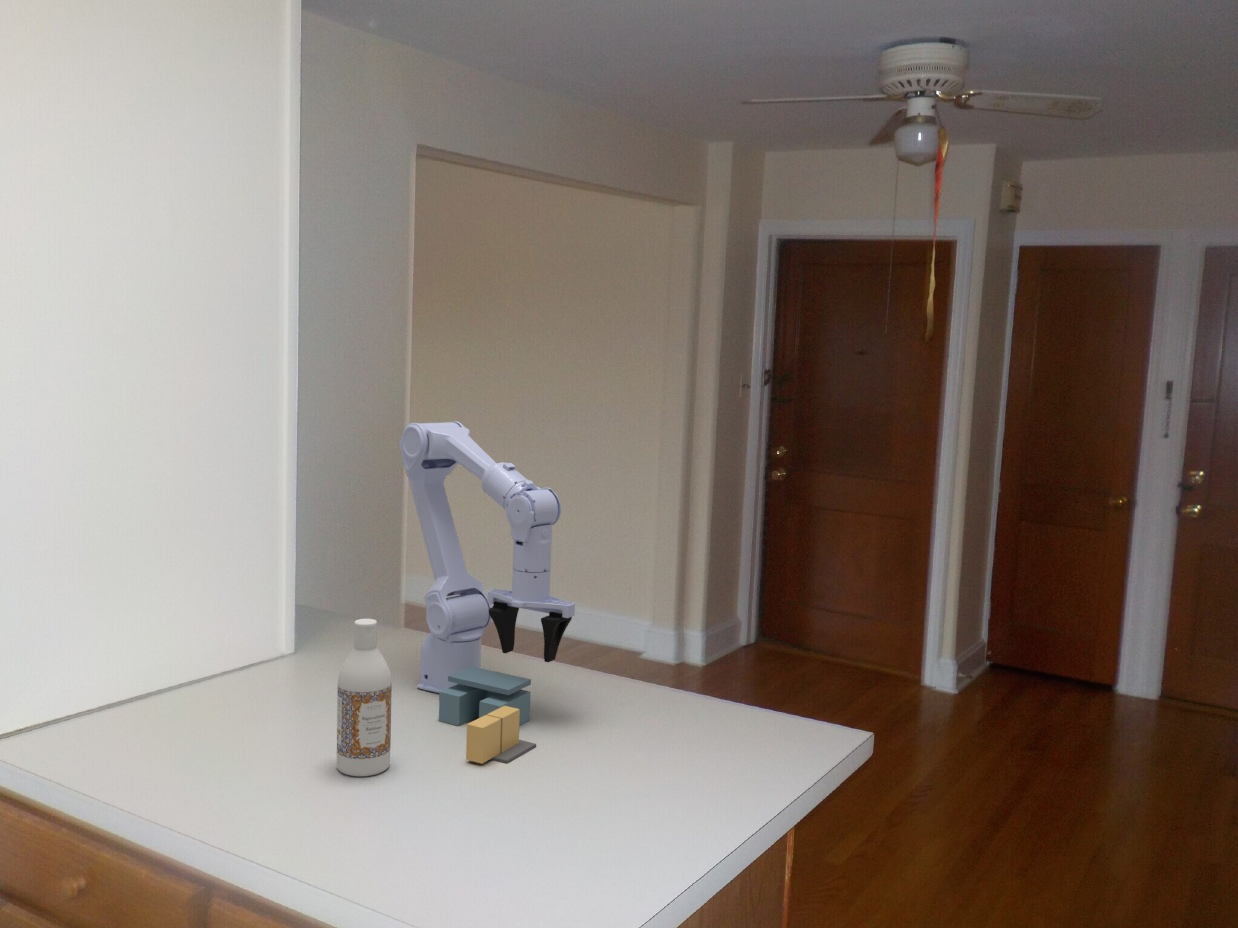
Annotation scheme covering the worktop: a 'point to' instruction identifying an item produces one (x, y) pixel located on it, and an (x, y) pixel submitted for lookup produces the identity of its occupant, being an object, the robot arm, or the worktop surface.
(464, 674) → the teal block stack
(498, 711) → the tan grooved block
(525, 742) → the pad
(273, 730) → the worktop surface
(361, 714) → the bath foam
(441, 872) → the worktop surface
